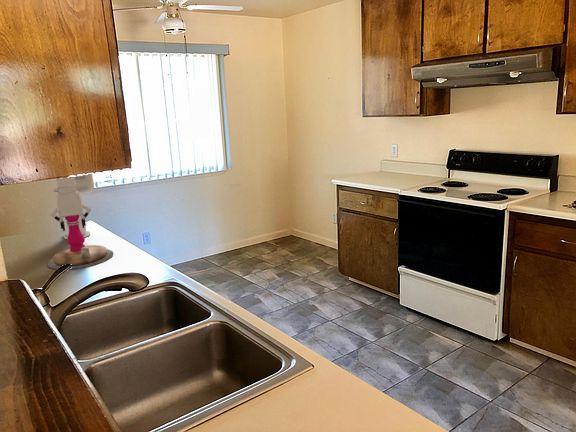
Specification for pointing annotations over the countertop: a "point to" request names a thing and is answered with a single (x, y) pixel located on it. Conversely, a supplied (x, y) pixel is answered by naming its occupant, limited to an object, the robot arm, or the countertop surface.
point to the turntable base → (107, 257)
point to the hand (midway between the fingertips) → (73, 228)
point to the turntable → (80, 255)
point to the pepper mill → (74, 234)
